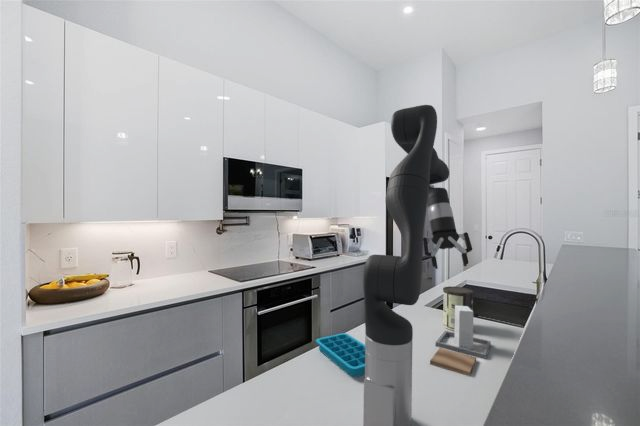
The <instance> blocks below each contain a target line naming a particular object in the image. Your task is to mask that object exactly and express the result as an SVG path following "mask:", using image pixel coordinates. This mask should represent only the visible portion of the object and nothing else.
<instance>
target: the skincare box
mask: <svg viewBox="0 0 640 426" xmlns="http://www.w3.org/2000/svg"><path fill="white" fill-rule="evenodd" d="M454 333H455V335H454V337H453V338H454V339H453V341H454V343H455V344H456V347H460V348H464V349H468V350H472V351H474V342H473V337H474V310H473V311H472V310H471V309H470V308H469V307H468V306H458V305H455V331H454Z"/></svg>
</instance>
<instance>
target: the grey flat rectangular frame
mask: <svg viewBox="0 0 640 426" xmlns="http://www.w3.org/2000/svg"><path fill="white" fill-rule="evenodd" d="M454 335H455V332H454V331H450V330H449V331H448V330H444V331H443V332H442V334H441V335H440V337H438V339H437V340H436V341H435V347H438V348H442V349H446V350H449V351H453V352H457V353H461V354H464V355H468V356H472V357H476V358H480V359H483V360H486V359H487V356H488V353H489V350H490V348H491V345H492V341H491V340H487V339H483V338H479V337H474V336H473V343H478V344H481V345H485V347H484V349H483V352H479V351H476V350H468V349H464V348H460V347H458V346H457V345H452V344H448V343H444V340H445V339H446V337H447V336H448V337H453V338H454Z"/></svg>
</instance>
